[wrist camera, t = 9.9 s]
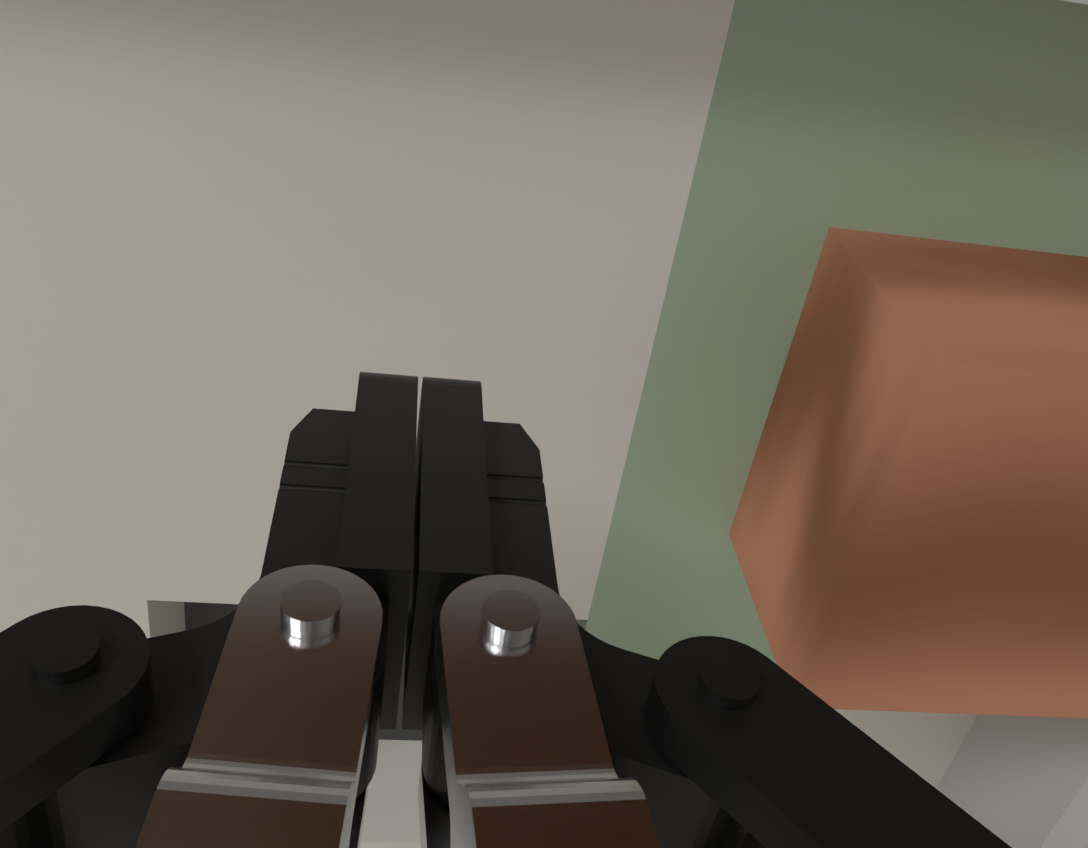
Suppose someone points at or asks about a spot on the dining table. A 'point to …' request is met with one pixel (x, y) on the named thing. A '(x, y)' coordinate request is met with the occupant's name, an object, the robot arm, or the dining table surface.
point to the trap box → (490, 283)
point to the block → (928, 482)
